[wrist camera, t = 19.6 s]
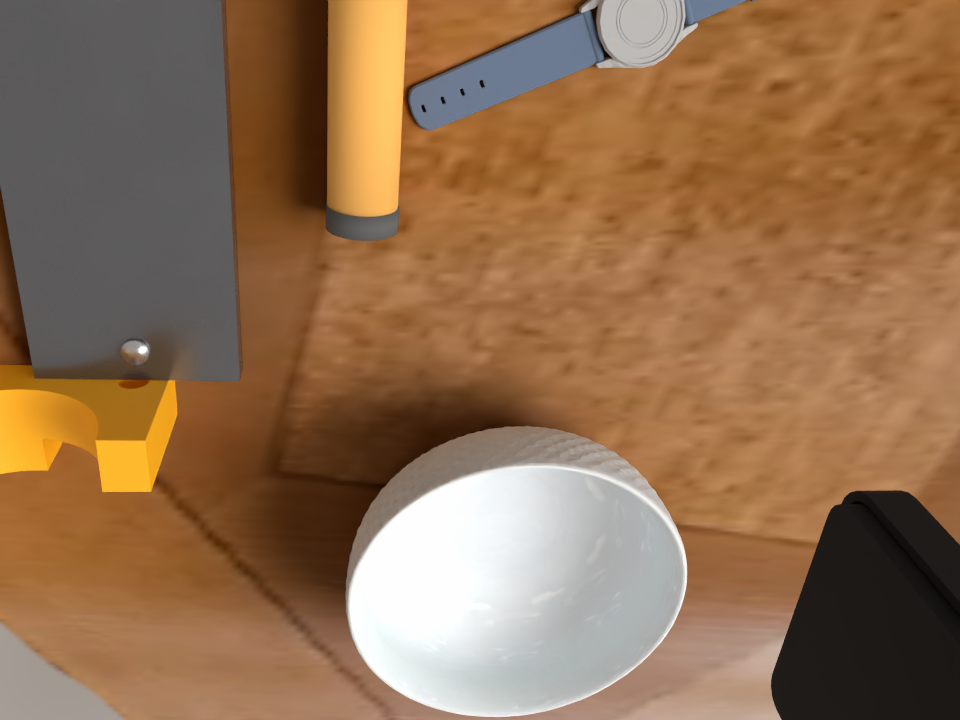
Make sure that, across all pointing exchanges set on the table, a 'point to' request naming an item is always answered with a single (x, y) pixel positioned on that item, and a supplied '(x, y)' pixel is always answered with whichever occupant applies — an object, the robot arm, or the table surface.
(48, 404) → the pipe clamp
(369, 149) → the handle
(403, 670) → the cereal bowl
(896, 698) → the robot arm
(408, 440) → the table surface
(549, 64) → the wristwatch
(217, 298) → the mounting plate
